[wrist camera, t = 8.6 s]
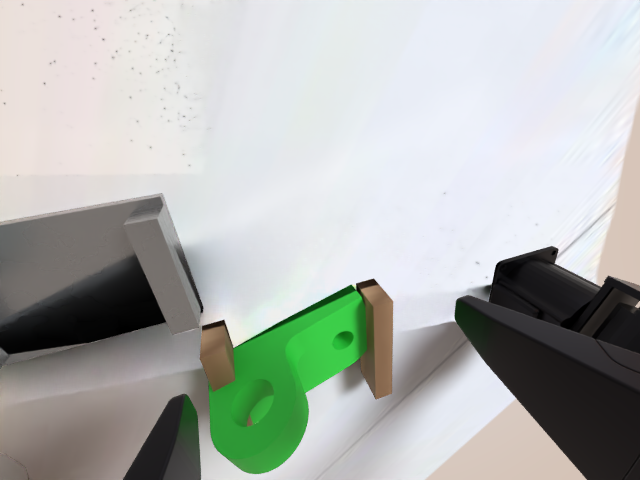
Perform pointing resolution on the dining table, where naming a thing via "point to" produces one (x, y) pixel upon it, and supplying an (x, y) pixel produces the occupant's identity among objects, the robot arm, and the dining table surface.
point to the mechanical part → (284, 380)
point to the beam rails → (373, 362)
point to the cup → (11, 469)
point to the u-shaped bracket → (92, 277)
